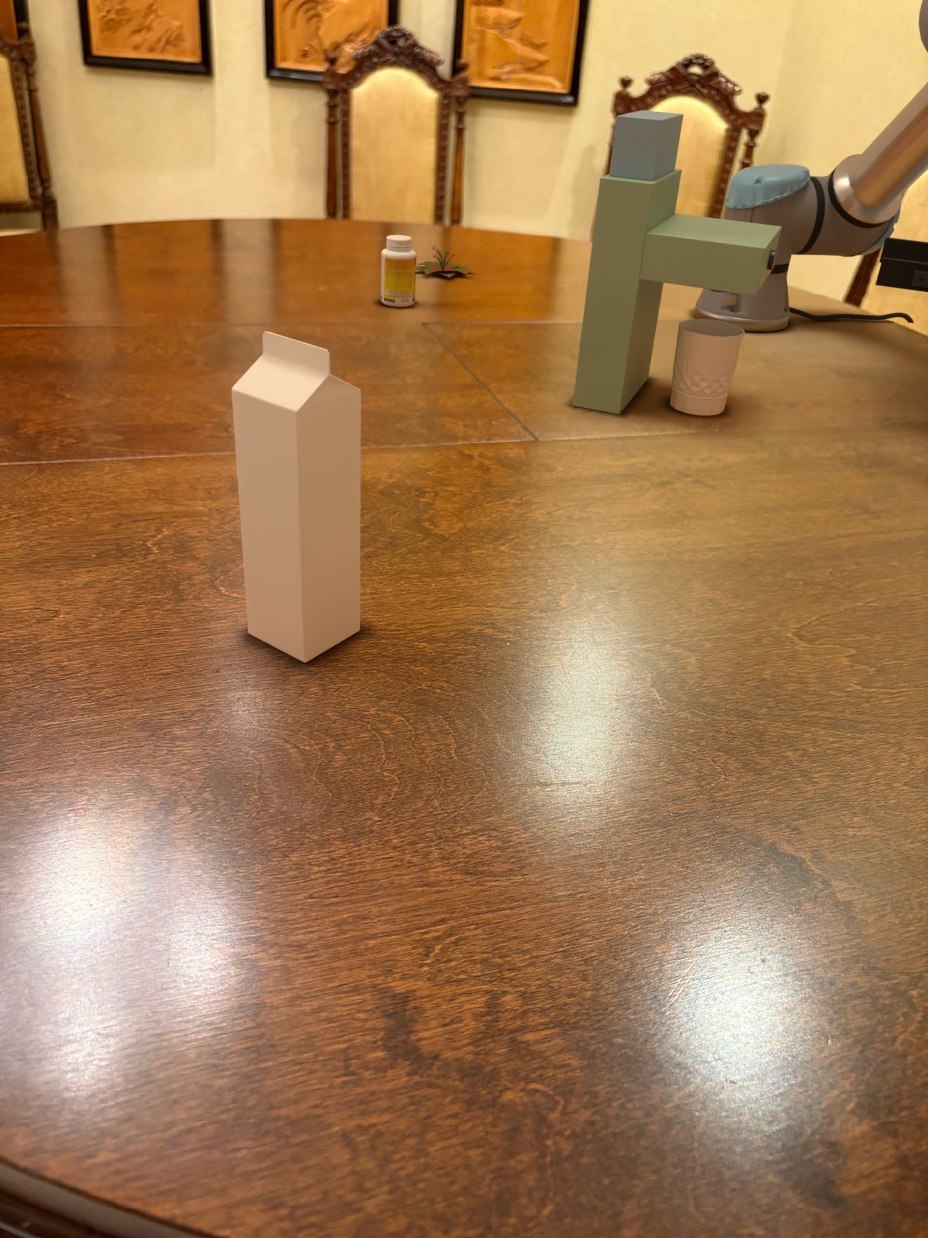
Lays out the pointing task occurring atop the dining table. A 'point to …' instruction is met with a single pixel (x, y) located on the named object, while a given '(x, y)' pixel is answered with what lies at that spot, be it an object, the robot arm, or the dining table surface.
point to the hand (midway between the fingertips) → (880, 259)
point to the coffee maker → (652, 258)
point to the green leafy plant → (442, 265)
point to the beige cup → (704, 365)
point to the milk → (299, 497)
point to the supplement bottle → (398, 272)
